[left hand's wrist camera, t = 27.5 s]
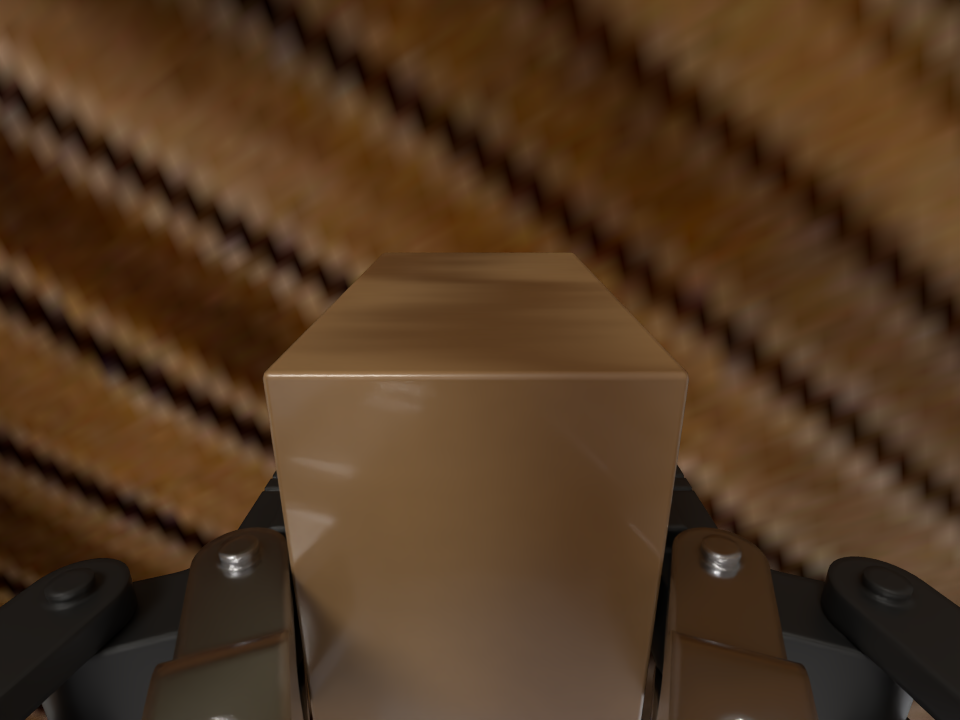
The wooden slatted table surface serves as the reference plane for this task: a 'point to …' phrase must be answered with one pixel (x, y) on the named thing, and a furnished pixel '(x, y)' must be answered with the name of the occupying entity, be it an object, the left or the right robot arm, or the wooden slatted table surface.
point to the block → (476, 491)
